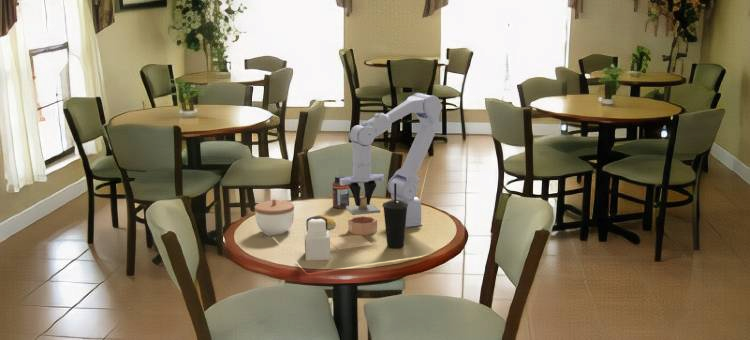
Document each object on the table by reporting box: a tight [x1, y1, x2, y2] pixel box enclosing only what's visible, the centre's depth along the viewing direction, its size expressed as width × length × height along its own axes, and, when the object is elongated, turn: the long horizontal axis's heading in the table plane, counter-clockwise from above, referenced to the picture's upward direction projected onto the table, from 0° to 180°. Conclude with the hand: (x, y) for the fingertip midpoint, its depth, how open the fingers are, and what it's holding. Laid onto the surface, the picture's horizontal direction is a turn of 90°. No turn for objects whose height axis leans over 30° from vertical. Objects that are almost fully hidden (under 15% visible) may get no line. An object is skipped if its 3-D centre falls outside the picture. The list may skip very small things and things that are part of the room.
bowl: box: [347, 215, 378, 236], centre depth 248 cm, size 9×9×4 cm
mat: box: [330, 234, 373, 251], centre depth 237 cm, size 11×11×1 cm
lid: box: [345, 195, 381, 216], centre depth 246 cm, size 9×9×4 cm
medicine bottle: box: [304, 215, 331, 261], centre depth 224 cm, size 7×7×12 cm
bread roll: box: [316, 214, 337, 231], centre depth 253 cm, size 8×9×4 cm
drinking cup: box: [382, 183, 408, 250], centre depth 231 cm, size 8×8×20 cm
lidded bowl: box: [254, 198, 295, 237], centre depth 247 cm, size 13×13×11 cm
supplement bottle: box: [332, 174, 350, 209], centre depth 276 cm, size 6×6×11 cm
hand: (362, 204), depth 246 cm, fingers closed on lid, 3 cm apart
